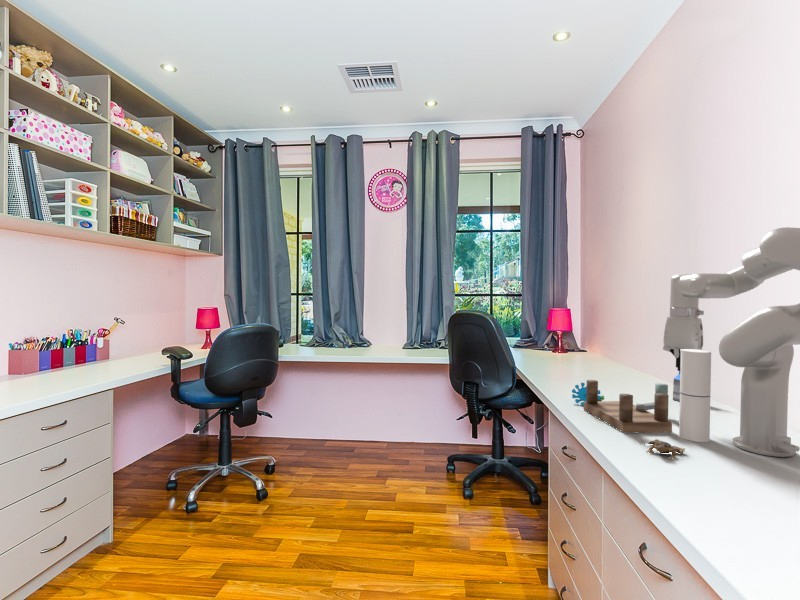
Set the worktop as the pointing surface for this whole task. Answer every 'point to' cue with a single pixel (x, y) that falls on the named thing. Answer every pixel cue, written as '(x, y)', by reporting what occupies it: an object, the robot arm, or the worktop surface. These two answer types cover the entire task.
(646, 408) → the swing leg
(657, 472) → the worktop surface
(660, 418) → the stool seat
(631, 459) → the worktop surface
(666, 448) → the frog figurine
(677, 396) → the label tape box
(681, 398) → the cylindrical container
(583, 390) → the blue spiky piece
